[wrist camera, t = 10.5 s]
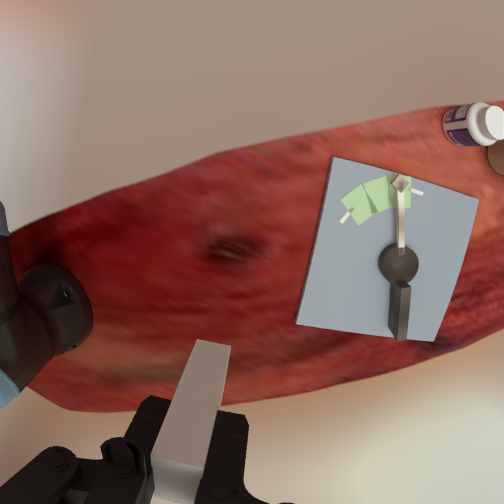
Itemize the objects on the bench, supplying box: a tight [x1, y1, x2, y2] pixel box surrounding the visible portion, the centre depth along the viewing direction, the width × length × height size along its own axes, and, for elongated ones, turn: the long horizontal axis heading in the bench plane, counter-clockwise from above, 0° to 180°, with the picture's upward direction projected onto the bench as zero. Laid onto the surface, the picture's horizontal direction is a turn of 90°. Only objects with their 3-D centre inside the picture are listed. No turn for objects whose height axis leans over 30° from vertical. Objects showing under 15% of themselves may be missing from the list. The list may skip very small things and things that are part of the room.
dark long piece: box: [378, 174, 419, 341], centre depth 37 cm, size 21×5×4 cm, turn 7°
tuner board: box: [296, 157, 479, 341], centre depth 40 cm, size 22×22×2 cm
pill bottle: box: [443, 102, 504, 146], centre depth 30 cm, size 5×5×10 cm
